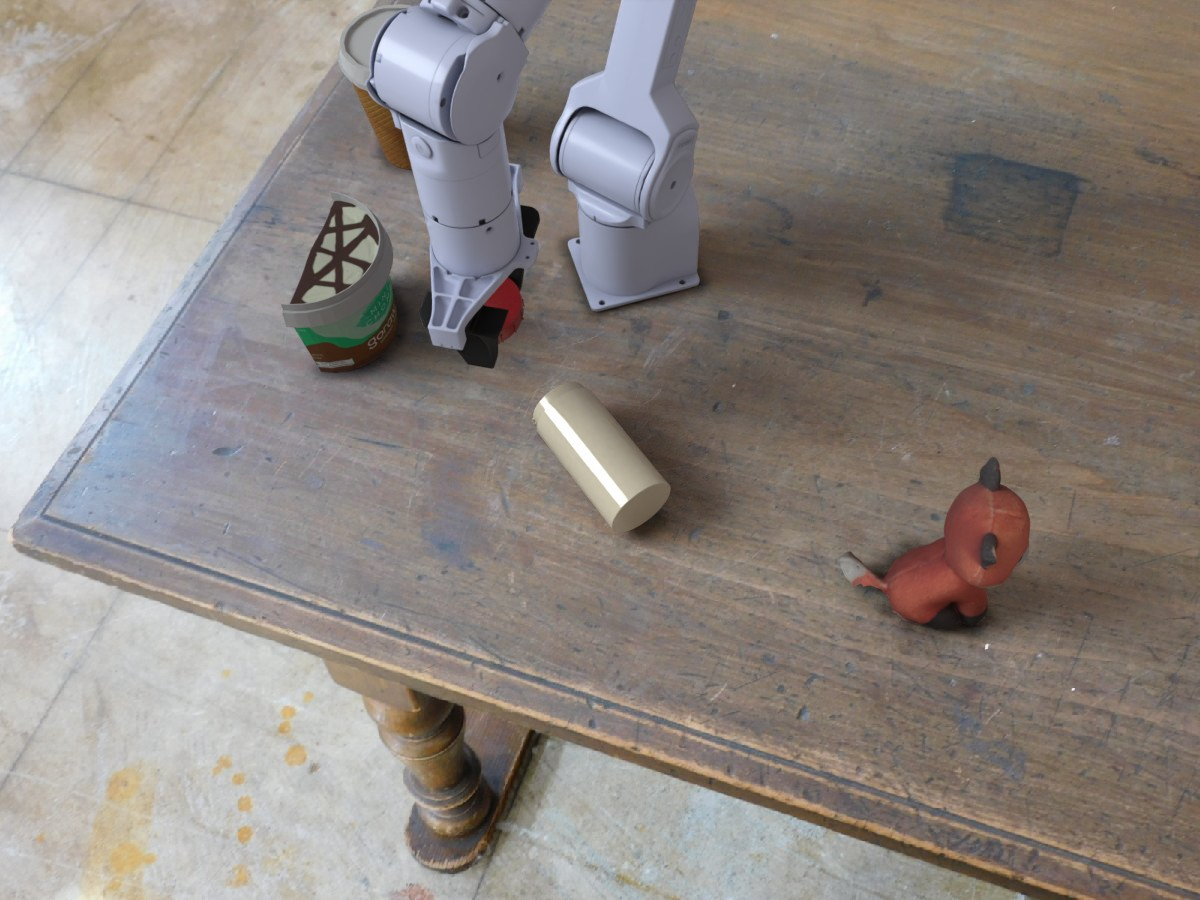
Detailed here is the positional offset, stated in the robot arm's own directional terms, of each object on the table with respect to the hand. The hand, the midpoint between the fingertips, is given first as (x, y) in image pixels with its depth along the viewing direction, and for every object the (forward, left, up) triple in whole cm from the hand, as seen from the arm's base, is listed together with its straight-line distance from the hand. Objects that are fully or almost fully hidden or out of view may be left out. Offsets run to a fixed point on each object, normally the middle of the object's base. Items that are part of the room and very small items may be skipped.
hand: (493, 327), depth 78 cm
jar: (-7, +14, -6) cm, 17 cm away
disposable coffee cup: (+1, -30, -9) cm, 31 cm away
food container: (+9, -10, -9) cm, 16 cm away
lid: (+1, 0, +2) cm, 2 cm away
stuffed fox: (-24, +24, -9) cm, 35 cm away
